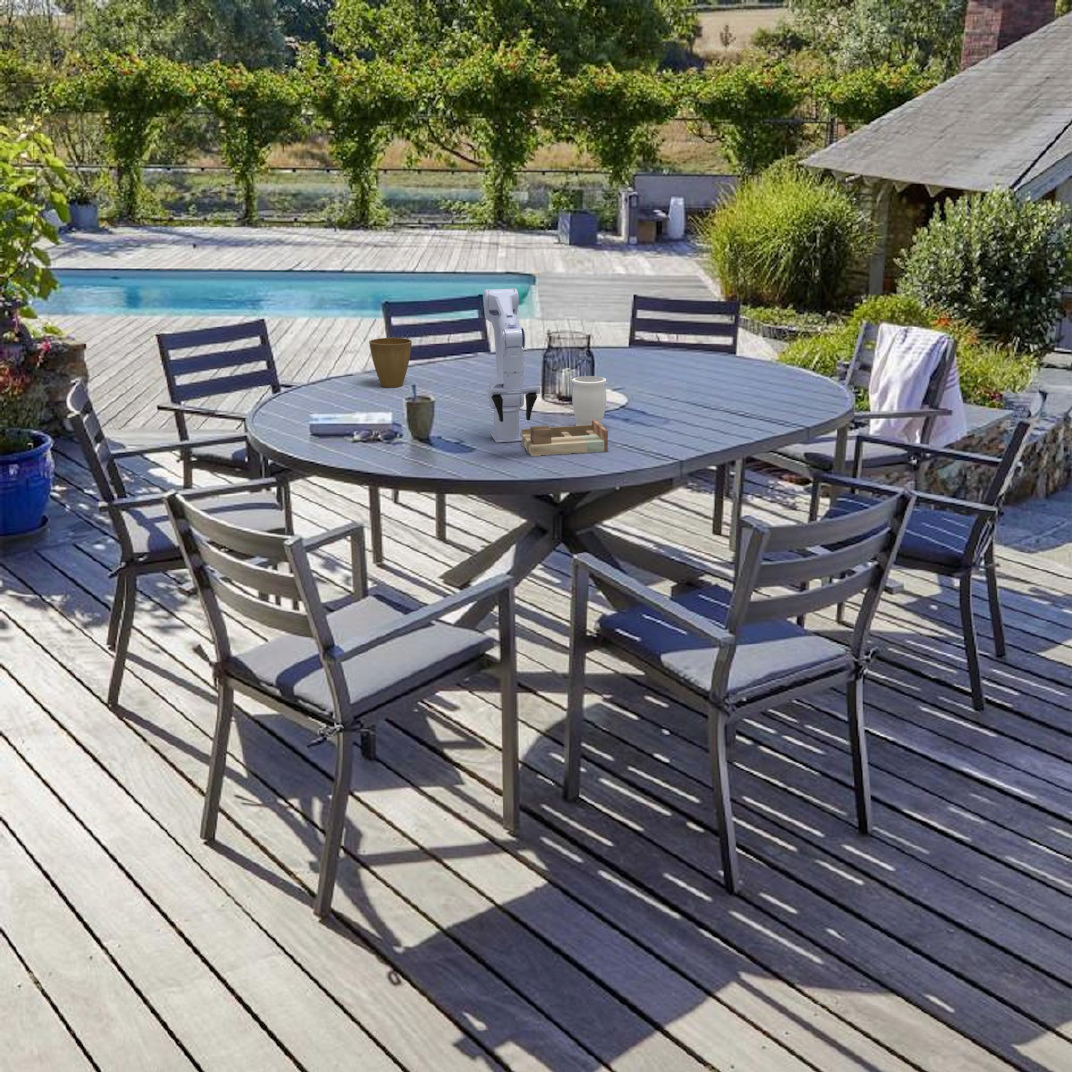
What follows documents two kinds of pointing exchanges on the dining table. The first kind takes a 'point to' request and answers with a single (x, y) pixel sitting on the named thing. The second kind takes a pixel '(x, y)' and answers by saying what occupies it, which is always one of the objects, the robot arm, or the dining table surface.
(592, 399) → the jar
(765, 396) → the dining table surface
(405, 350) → the plant pot
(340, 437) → the dining table surface
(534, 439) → the walnut block
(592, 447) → the trap box
